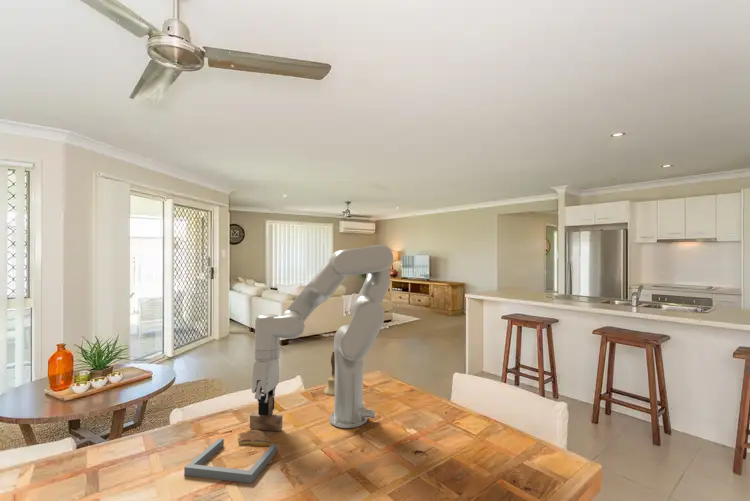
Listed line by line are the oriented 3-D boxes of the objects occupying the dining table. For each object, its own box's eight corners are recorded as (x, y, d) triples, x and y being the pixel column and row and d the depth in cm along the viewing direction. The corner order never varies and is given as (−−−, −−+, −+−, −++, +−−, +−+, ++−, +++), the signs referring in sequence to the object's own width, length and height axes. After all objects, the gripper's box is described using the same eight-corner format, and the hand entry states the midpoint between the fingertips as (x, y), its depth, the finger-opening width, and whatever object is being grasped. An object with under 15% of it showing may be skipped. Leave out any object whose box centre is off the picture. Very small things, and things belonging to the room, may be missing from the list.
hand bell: (319, 391, 146) (319, 351, 147) (336, 386, 152) (336, 348, 152) (331, 397, 140) (331, 356, 140) (348, 391, 146) (348, 352, 146)
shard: (273, 447, 104) (273, 441, 104) (246, 456, 99) (246, 450, 99) (258, 433, 112) (258, 427, 112) (233, 440, 107) (233, 434, 107)
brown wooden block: (282, 427, 114) (283, 395, 114) (278, 431, 111) (279, 399, 111) (253, 424, 116) (254, 393, 116) (248, 429, 113) (249, 397, 113)
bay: (277, 451, 101) (277, 444, 101) (251, 483, 86) (251, 474, 86) (218, 445, 104) (218, 438, 104) (184, 475, 89) (184, 467, 89)
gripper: (268, 346, 123) (267, 401, 122) (242, 360, 106) (241, 422, 106) (288, 348, 121) (288, 402, 121) (266, 361, 105) (265, 425, 105)
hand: (266, 411), depth 113 cm, fingers closed on brown wooden block, 3 cm apart
